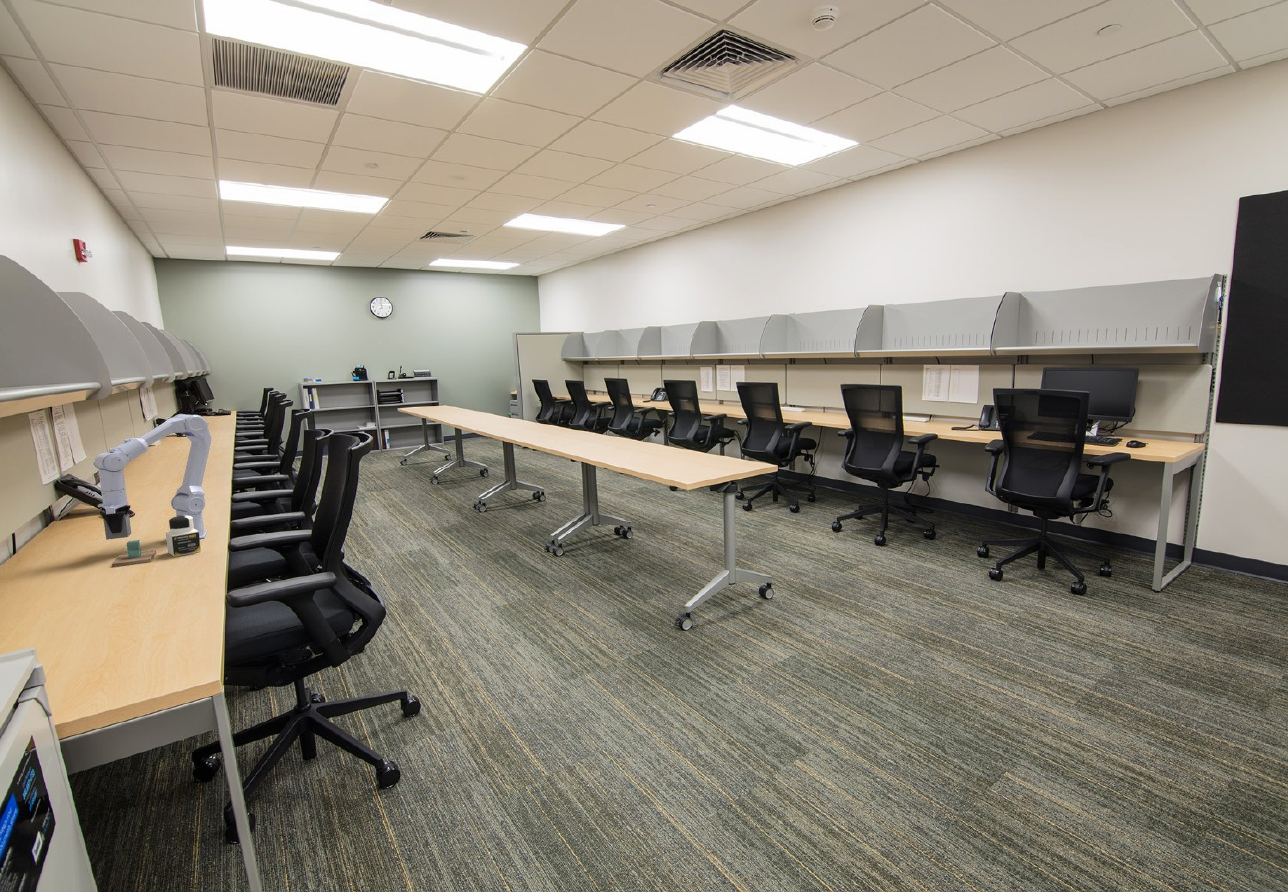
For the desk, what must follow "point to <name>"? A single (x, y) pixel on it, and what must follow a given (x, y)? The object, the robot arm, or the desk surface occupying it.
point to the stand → (134, 555)
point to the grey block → (124, 533)
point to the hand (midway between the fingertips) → (118, 530)
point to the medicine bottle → (182, 536)
